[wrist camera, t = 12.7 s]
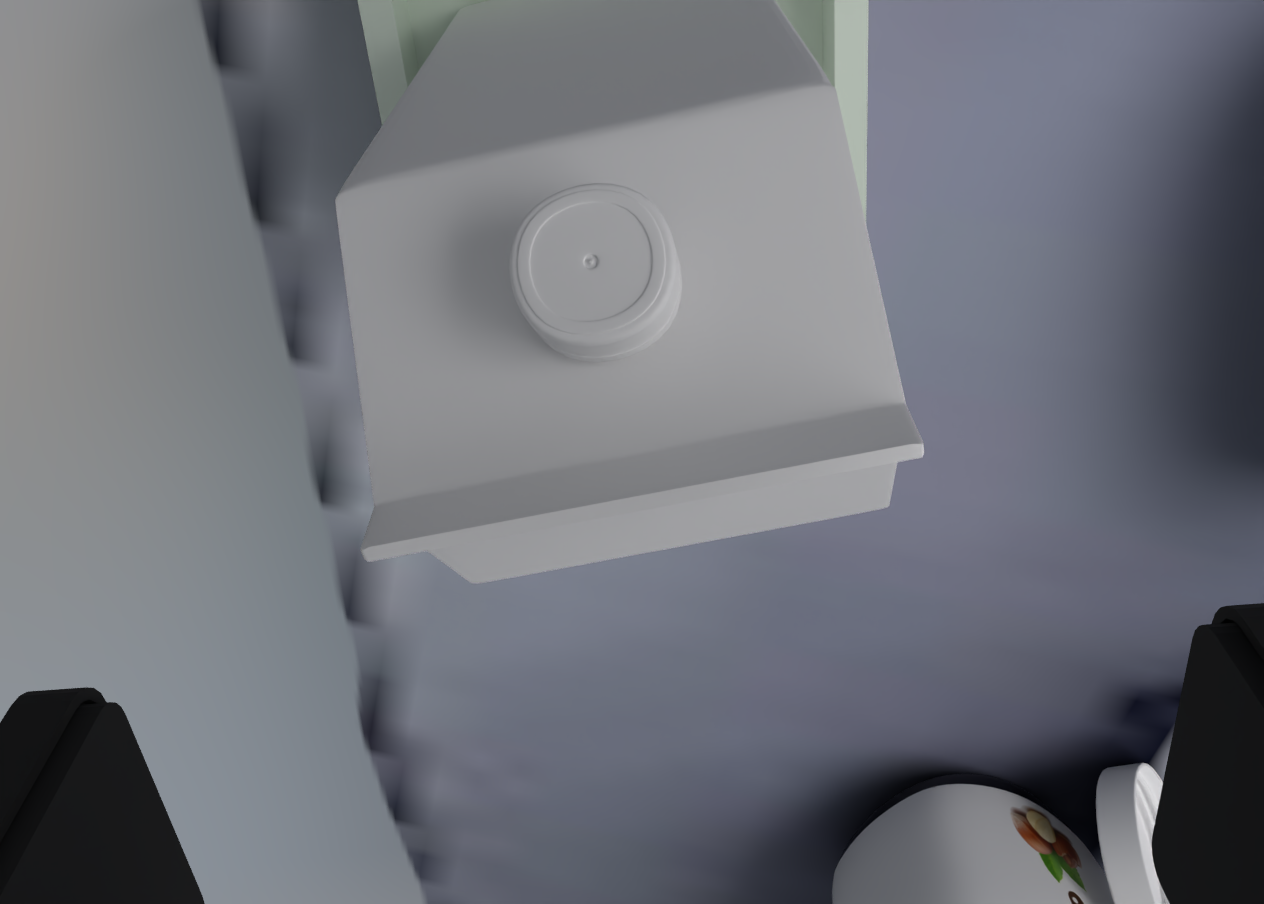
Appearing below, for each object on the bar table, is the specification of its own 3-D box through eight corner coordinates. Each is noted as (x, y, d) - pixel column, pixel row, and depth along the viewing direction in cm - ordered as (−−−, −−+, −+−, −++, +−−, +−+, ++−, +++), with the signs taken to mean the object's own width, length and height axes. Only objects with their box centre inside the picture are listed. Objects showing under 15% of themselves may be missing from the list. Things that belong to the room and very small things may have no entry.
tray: (347, -173, 28) (324, -169, 26) (851, -225, 28) (870, -225, 25) (451, 386, 36) (441, 425, 33) (848, 352, 35) (864, 389, 33)
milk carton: (780, 214, 32) (948, 671, 16) (530, 266, 33) (442, 757, 17) (736, -60, 29) (893, 164, 12) (457, 6, 30) (256, 301, 13)
